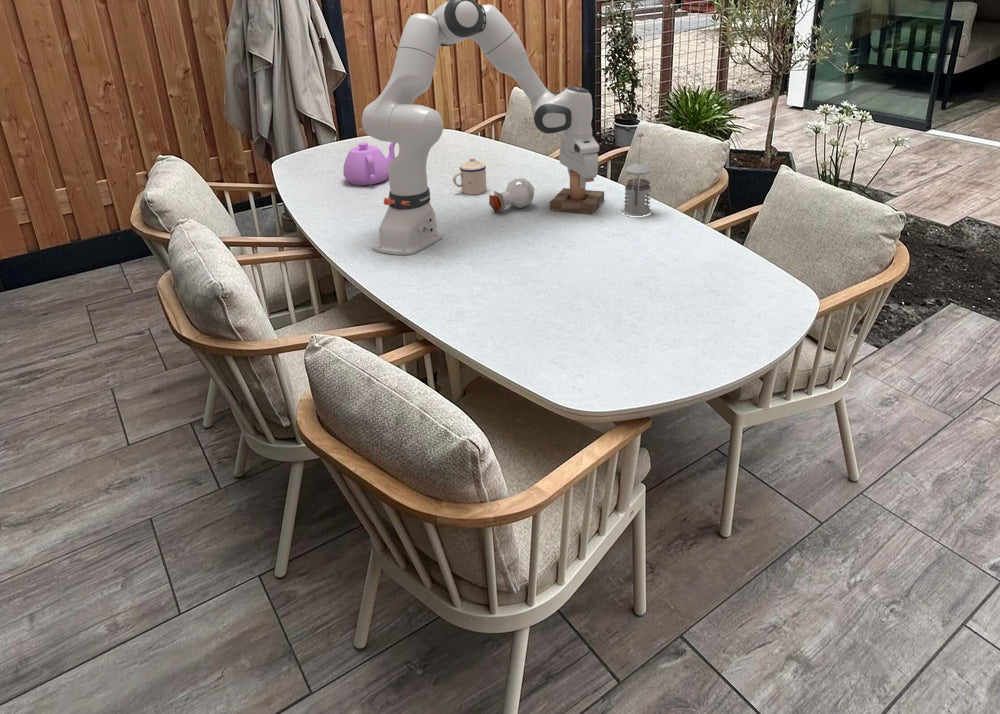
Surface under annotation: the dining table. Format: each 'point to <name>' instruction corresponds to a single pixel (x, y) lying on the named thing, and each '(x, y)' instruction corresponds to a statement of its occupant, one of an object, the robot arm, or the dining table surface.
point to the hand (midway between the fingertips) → (577, 184)
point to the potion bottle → (513, 195)
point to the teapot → (367, 164)
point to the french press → (637, 189)
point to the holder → (577, 202)
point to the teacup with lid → (472, 177)
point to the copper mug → (577, 186)
